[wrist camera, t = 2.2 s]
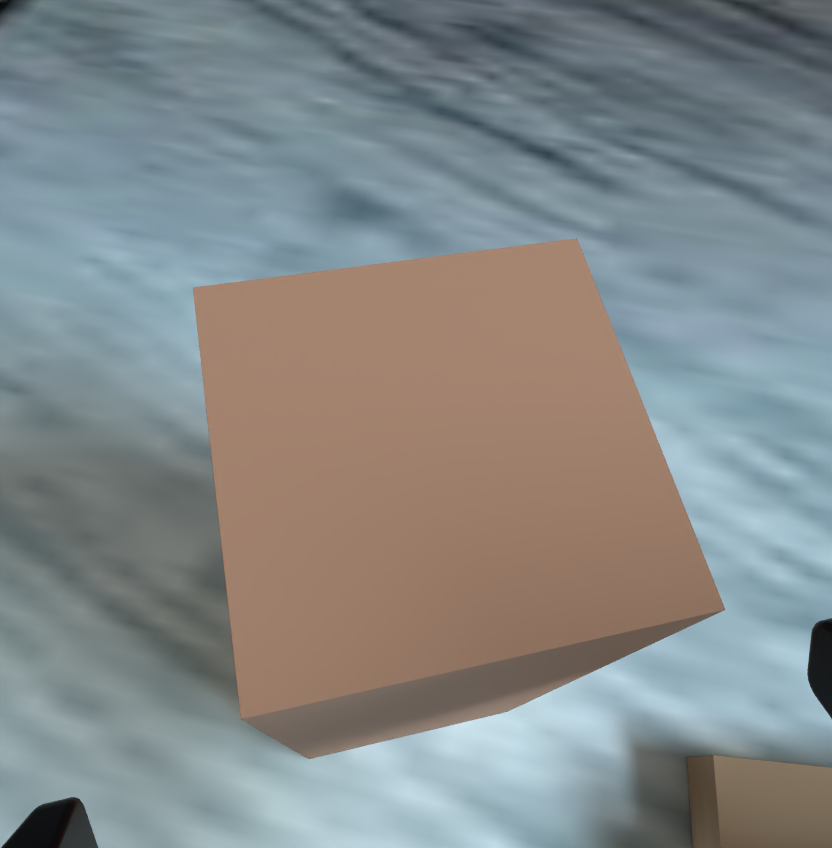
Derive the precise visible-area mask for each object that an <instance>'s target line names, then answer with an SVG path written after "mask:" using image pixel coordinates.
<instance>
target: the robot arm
mask: <svg viewBox="0 0 832 848" xmlns="http://www.w3.org/2000/svg"><path fill="white" fill-rule="evenodd" d="M807 675H808V681H809V684H810V687H811V689H812V691H813V693H814V694H815V696H816V697H817V699H818V700H819V701H820V703H821V704H822V706H823V707H824V708H825V710H826V711H827V713H828V714H829V715H830V717H831V718H832V618H830V619H826V620H822V621H819V622H817V623H816V624H815V626H814V627H813V629H812V634H811V643H810V652H809V662H808V673H807ZM1 848H98V846H97V843H96V840H95V837H94V834H93V831H92V828H91V825H90V822H89V819H88V816H87V813H86V810H85V807H84V805H83V803H82V802H81V801H80V799H78V798H75V797H71V798H67V799H63V800H58V801H54V802H50V803H46V804H43V805H40V806H38V807H37V808H36V809H35V810H34V811H33V812H32V813H31V814H30V815H29V816H28V817H27V818H26V820H25V821H24V822H23V823H22V824H21V825H20V826H19V828H18V829H17V830H16V831H15V832H14V833H13V835H12V836H11V837H10V838H9V839H8V840H7V842H6V843H5V844H4V845H3V846H2V847H1Z"/></svg>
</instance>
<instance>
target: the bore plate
mask: <svg viewBox="0 0 832 848" xmlns="http://www.w3.org/2000/svg"><path fill="white" fill-rule="evenodd" d="M687 769H688V784H689V799H690V814H691V829H692V844H693V848H832V768H830V767H820V766H811V765H802V764H793V763H783V762H774V761H765V760H756V759H746V758H737V757H728V756H718V755H707V756H694V757H687Z"/></svg>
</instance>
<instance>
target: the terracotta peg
mask: <svg viewBox="0 0 832 848" xmlns="http://www.w3.org/2000/svg"><path fill="white" fill-rule="evenodd" d="M193 294H194V303H195V312H196V321H197V330H198V339H199V348H200V357H201V366H202V375H203V384H204V393H205V402H206V411H207V419H208V428H209V437H210V446H211V455H212V464H213V473H214V482H215V491H216V500H217V509H218V518H219V527H220V536H221V545H222V554H223V563H224V572H225V581H226V590H227V599H228V607H229V616H230V625H231V634H232V643H233V652H234V661H235V670H236V679H237V688H238V697H239V706H240V715H241V719H242V720H243V721H245V722H247V723H248V724H250V725H252V726H254V727H255V728H257V729H259V730H260V731H262V732H264V733H266V734H267V735H269V736H271V737H272V738H274V739H276V740H277V741H279V742H281V743H283V744H284V745H286V746H288V747H289V748H291V749H293V750H295V751H296V752H298V753H300V754H301V755H303V756H305V757H307V758H308V759H311V758H315V757H319V756H324V755H328V754H332V753H336V752H340V751H345V750H349V749H353V748H357V747H361V746H366V745H370V744H374V743H378V742H382V741H386V740H391V739H395V738H399V737H403V736H407V735H412V734H416V733H420V732H424V731H428V730H433V729H437V728H441V727H445V726H449V725H454V724H458V723H462V722H466V721H470V720H474V719H479V718H483V717H487V716H491V715H495V714H500V713H504V712H508V711H510V710H512V709H514V708H516V707H518V706H520V705H523V704H525V703H527V702H529V701H531V700H533V699H535V698H537V697H540V696H542V695H544V694H546V693H548V692H550V691H552V690H555V689H557V688H559V687H561V686H563V685H565V684H567V683H570V682H572V681H574V680H576V679H578V678H580V677H582V676H585V675H587V674H589V673H591V672H593V671H595V670H597V669H599V668H602V667H604V666H606V665H608V664H610V663H612V662H614V661H617V660H619V659H621V658H623V657H625V656H627V655H629V654H632V653H634V652H636V651H638V650H640V649H642V648H644V647H647V646H649V645H651V644H653V643H655V642H657V641H659V640H661V639H664V638H666V637H668V636H670V635H672V634H674V633H676V632H679V631H681V630H683V629H685V628H687V627H689V626H691V625H694V624H696V623H698V622H700V621H702V620H704V619H706V618H709V617H711V616H713V615H715V614H717V613H719V612H721V611H724V610H725V608H724V605H723V603H722V600H721V598H720V595H719V593H718V590H717V588H716V585H715V583H714V580H713V578H712V575H711V573H710V570H709V568H708V565H707V563H706V560H705V558H704V555H703V553H702V550H701V548H700V545H699V543H698V540H697V538H696V535H695V533H694V530H693V528H692V525H691V523H690V520H689V518H688V515H687V513H686V510H685V508H684V505H683V503H682V500H681V498H680V495H679V493H678V490H677V488H676V485H675V483H674V480H673V478H672V475H671V473H670V470H669V468H668V465H667V463H666V460H665V458H664V455H663V453H662V450H661V448H660V445H659V443H658V440H657V438H656V435H655V433H654V430H653V428H652V425H651V423H650V420H649V418H648V415H647V413H646V410H645V408H644V405H643V402H642V400H641V397H640V395H639V392H638V390H637V387H636V385H635V382H634V380H633V377H632V375H631V372H630V370H629V367H628V365H627V362H626V360H625V357H624V355H623V352H622V350H621V347H620V345H619V342H618V340H617V337H616V335H615V332H614V330H613V327H612V325H611V322H610V320H609V317H608V315H607V312H606V310H605V307H604V305H603V302H602V300H601V297H600V295H599V292H598V290H597V287H596V285H595V282H594V280H593V277H592V275H591V272H590V270H589V267H588V265H587V262H586V260H585V257H584V255H583V252H582V250H581V247H580V245H579V242H578V240H577V239H569V240H562V241H554V242H546V243H538V244H530V245H523V246H515V247H507V248H499V249H491V250H484V251H476V252H468V253H460V254H452V255H444V256H437V257H429V258H421V259H413V260H405V261H398V262H390V263H382V264H374V265H366V266H358V267H351V268H343V269H335V270H327V271H319V272H312V273H304V274H296V275H288V276H280V277H273V278H265V279H257V280H249V281H241V282H233V283H226V284H218V285H210V286H202V287H194V288H193Z"/></svg>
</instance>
